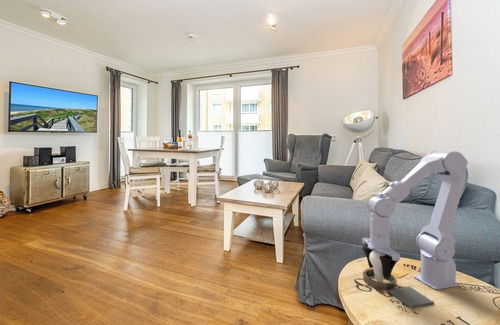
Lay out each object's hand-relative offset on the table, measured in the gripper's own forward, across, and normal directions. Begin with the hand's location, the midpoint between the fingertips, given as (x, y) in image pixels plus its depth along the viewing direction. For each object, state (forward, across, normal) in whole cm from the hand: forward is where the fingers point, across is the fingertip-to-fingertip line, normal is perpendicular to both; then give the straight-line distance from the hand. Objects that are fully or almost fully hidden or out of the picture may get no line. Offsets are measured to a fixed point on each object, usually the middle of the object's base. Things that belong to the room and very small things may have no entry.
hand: (379, 271), depth 79 cm
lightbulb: (+4, 0, 0) cm, 4 cm away
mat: (+3, +10, +2) cm, 10 cm away
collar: (+3, 0, 0) cm, 3 cm away
